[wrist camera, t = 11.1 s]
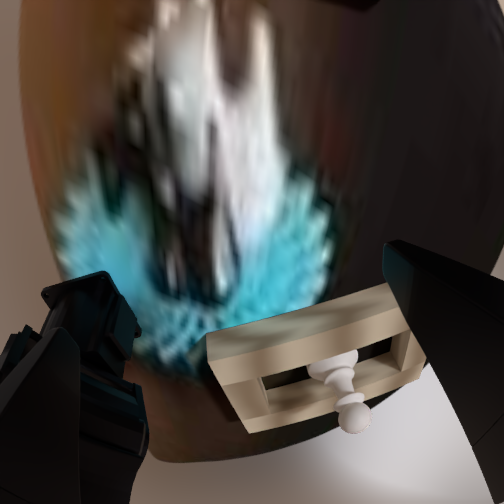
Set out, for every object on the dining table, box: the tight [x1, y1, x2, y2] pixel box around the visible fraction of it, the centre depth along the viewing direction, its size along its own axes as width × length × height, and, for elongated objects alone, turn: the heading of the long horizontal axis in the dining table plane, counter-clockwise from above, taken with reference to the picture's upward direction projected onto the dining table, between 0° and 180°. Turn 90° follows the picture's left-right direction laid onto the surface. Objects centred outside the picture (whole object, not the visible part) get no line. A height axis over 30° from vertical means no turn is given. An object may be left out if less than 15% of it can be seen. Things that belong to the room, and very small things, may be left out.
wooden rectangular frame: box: [206, 283, 426, 433], centre depth 27 cm, size 20×14×3 cm
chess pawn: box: [306, 349, 372, 434], centre depth 25 cm, size 5×5×9 cm
